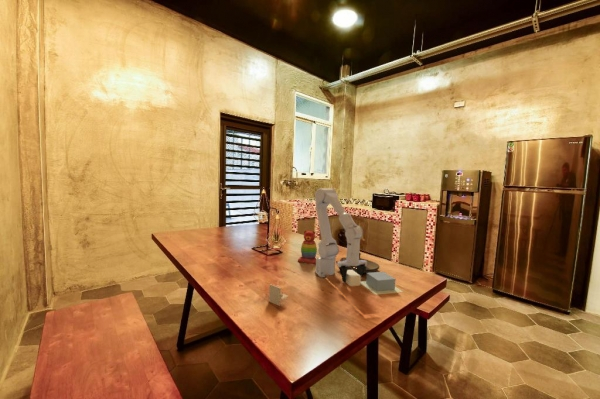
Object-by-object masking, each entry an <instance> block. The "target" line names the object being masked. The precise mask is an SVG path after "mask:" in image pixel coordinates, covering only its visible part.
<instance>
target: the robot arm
mask: <svg viewBox="0 0 600 399" xmlns="http://www.w3.org/2000/svg"><path fill="white" fill-rule="evenodd" d="M338 197H339V195H338V193H337V191H336V190H335V189H334V188H317V190H316V192H315V193H314V199H315V209H316V215H317V220H318V226H319V232H320V237H321V240H320V241H319V242H318V244H317V245H318V248H317V253H318V255H319V256H320V257H316V264H315V271H314V273H316V275H317V276H318V277H320V278H326V277H327V276H332V275H333V276H334V275H335V273H336V272H335V271H336V270H335V269H336V265H337V268H338V270H339V272H340V275H341V280H342V282H343V283H346V274H347V270H348V269H346V267H345V266H357V273H358V274H359V275H360V276H361V278H362V277H363V274H364V273H363V272H364V271H365V269H366V266H365V265H367V261H366V260H367V259H366V260H359V252H360V250H361V248H360V247H361V245H360V244H361V238H362V237H363V236H364V230H363V227H361V226H359V225H358V224H357V223H356V222H355V221H354V219H353V218H352V215H351V214H350V213H349V212H346V211H345V209H344V207H343V205H342V203H341V201H340V200H339V198H338ZM330 205H331V206H332V208H333V209H334V211H335V212H336V214H337V215H338V221H339V222H340V224H341V226H342V228H343V229H344V231H345V232H344V236H345V238H346V244H347V245H346V255H345V258H346V260H345V261H340V260H339V261H337V263H336V258H337V255H338V254H339V253H340V248H339V245H338V243H337V240H336V239H335V238H333V235H332V229H331V224H330V220H329V212H328V206H330Z"/></svg>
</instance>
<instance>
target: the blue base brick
mask: <svg viewBox="0 0 600 399" xmlns="http://www.w3.org/2000/svg"><path fill="white" fill-rule="evenodd" d="M365 281H366V284H368V285H369V286H370V287H372V288H373V289H374V290H376V291H377V292H379V291H388V290H395V287H396V278H394V277H393V276H391V275H390V274H389V273H387V272H385V271H376V272H375V271H372V272H368V273H366V280H365Z"/></svg>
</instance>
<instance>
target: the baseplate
mask: <svg viewBox="0 0 600 399" xmlns="http://www.w3.org/2000/svg"><path fill="white" fill-rule="evenodd" d="M360 285H362V286H364V287H365V288H366V289H367V290H369V292H371V293H372V294H373V295H376V296H377V295H386V294H388V295H389V294H396V293H403V292H404V291H402V289H400V288H398V287H397V286H395V290H388V291H379V292H377V291H376V290H374V289H373V288H372V287H370V286H369V285H368V284H366V280H361V281H360Z"/></svg>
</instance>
